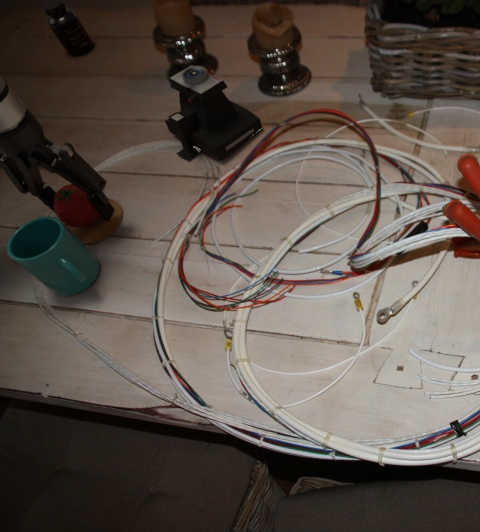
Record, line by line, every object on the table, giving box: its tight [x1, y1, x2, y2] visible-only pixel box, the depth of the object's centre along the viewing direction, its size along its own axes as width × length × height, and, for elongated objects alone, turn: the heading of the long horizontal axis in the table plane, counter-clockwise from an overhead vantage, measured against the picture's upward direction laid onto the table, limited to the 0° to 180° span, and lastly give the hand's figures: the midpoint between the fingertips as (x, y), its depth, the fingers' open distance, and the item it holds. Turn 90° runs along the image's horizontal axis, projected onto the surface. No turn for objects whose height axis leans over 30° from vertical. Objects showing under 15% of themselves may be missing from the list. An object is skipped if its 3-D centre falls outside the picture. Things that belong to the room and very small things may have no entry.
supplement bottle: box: [41, 0, 94, 57], centre depth 133 cm, size 7×7×12 cm
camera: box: [164, 64, 263, 161], centre depth 109 cm, size 16×14×15 cm
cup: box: [6, 216, 100, 297], centre depth 91 cm, size 9×12×11 cm
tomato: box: [53, 183, 100, 227], centre depth 99 cm, size 8×8×7 cm
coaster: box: [64, 198, 124, 246], centre depth 103 cm, size 11×11×1 cm
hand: (88, 214), depth 102 cm, fingers closed on tomato, 8 cm apart
